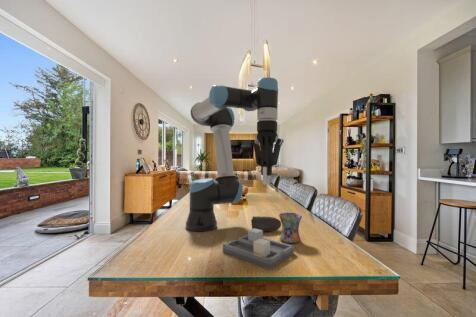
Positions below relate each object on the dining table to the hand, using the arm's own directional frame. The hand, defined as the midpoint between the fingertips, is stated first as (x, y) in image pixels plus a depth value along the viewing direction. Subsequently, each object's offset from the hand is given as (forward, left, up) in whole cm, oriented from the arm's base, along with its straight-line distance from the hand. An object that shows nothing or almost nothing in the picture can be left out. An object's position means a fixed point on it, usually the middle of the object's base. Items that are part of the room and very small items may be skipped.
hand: (266, 184), depth 87 cm
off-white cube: (+4, -8, -23) cm, 24 cm away
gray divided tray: (0, -4, -24) cm, 25 cm away
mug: (+2, +16, -25) cm, 29 cm away
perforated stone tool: (-12, +19, -25) cm, 33 cm away
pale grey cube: (-5, 0, -23) cm, 23 cm away
